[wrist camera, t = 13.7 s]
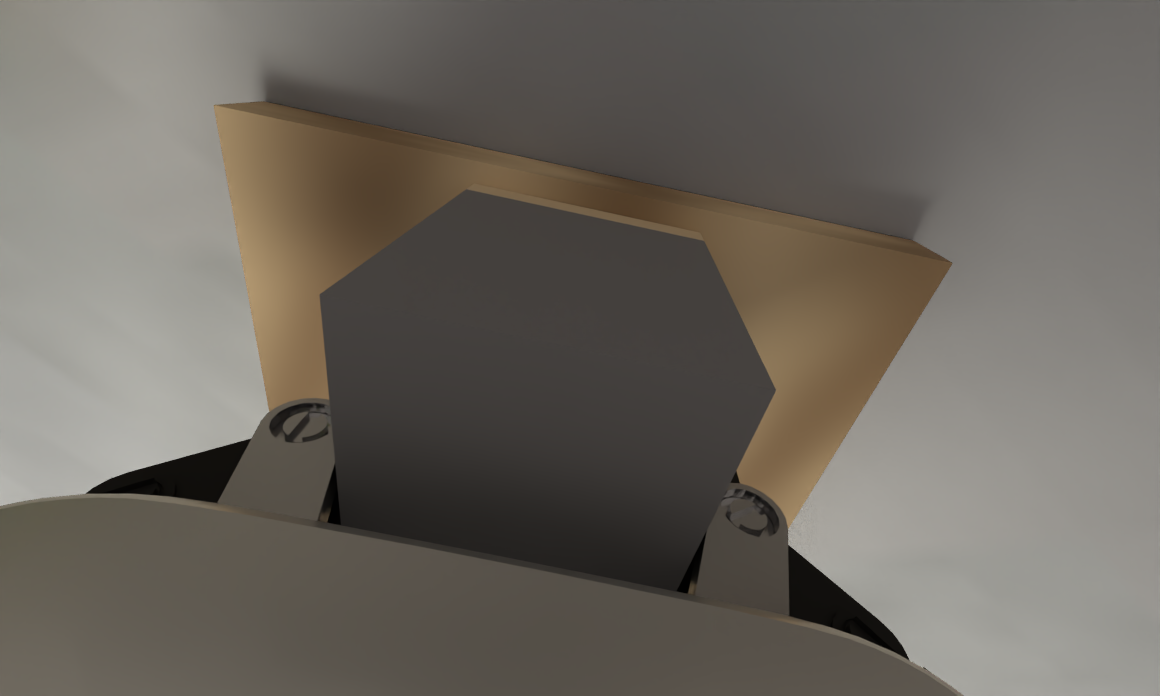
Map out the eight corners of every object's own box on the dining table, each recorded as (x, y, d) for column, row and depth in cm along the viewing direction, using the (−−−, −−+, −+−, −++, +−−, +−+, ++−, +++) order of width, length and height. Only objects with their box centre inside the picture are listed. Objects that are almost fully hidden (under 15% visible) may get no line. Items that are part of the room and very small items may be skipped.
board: (913, 240, 12) (952, 263, 10) (665, 682, 23) (668, 722, 21) (263, 101, 11) (212, 105, 10) (333, 619, 22) (313, 656, 21)
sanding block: (700, 232, 10) (775, 390, 5) (616, 488, 14) (611, 721, 9) (474, 183, 10) (319, 295, 5) (453, 455, 14) (354, 673, 9)
